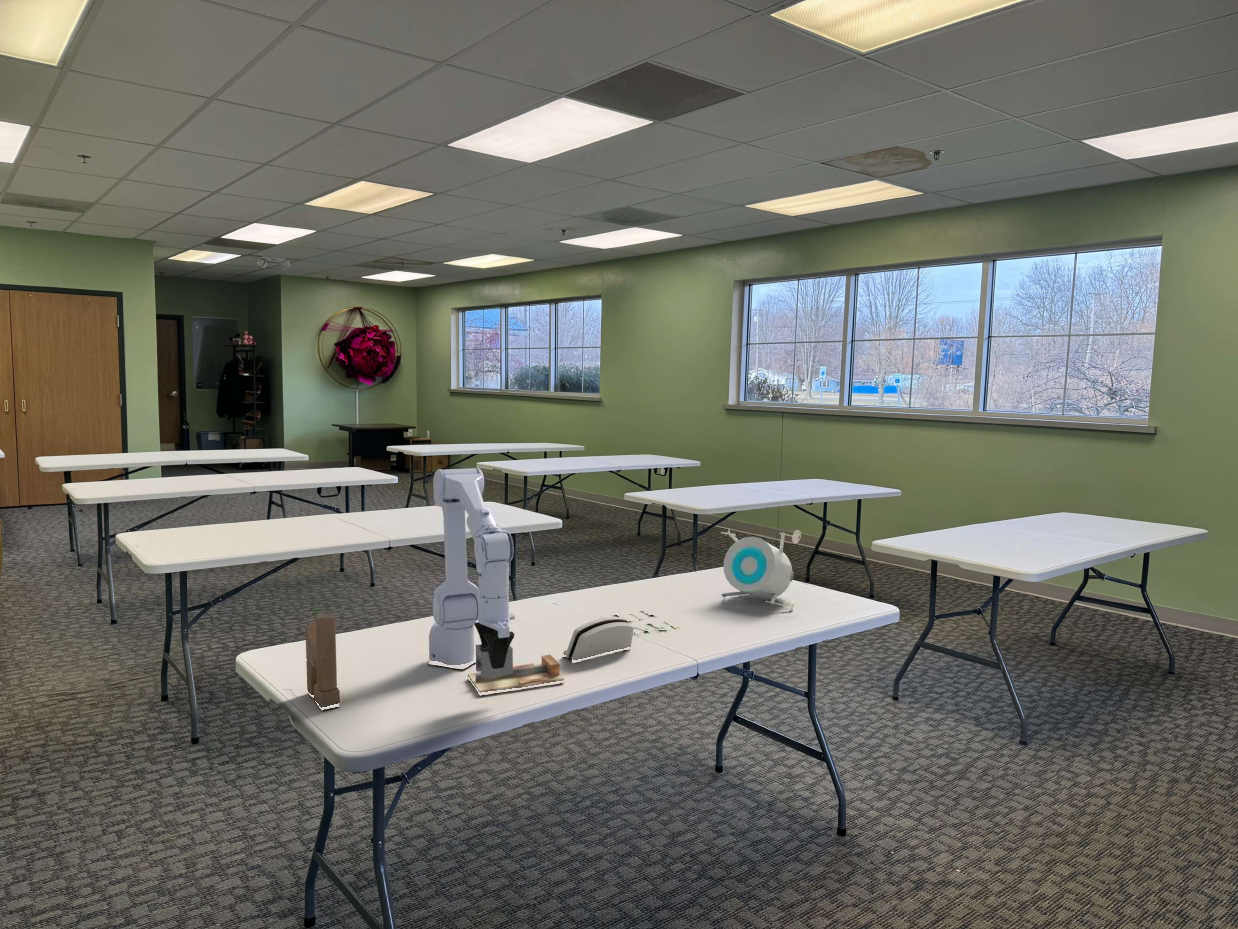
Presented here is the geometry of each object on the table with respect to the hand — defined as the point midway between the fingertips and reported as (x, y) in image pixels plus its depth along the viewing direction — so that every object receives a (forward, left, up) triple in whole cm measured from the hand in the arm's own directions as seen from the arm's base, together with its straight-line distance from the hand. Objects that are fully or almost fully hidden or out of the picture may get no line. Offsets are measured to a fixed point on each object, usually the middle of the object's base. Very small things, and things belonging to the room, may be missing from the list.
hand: (494, 662), depth 155 cm
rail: (-2, +12, -8) cm, 15 cm away
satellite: (+33, +95, -9) cm, 101 cm away
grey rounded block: (+8, +34, -9) cm, 36 cm away
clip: (0, 0, -2) cm, 2 cm away
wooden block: (-32, -11, -9) cm, 35 cm away
